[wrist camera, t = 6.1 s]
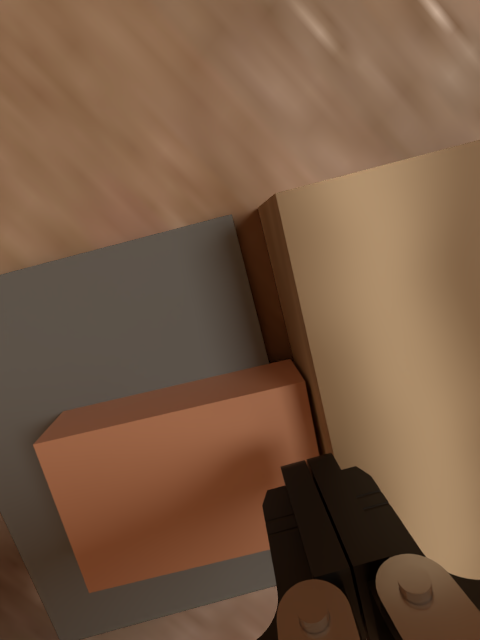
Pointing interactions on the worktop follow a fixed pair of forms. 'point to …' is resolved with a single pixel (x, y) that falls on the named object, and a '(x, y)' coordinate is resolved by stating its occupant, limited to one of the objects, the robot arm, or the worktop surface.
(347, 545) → the robot arm
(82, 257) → the mat
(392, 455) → the tan wooden flat block
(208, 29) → the worktop surface
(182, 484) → the tile
